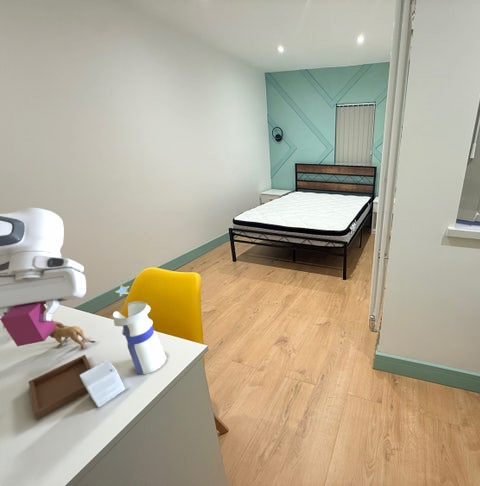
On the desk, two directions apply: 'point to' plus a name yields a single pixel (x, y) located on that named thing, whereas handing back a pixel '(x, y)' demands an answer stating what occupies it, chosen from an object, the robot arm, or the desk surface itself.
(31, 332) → the top block
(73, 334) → the lion figurine
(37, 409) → the tray
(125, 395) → the desk surface
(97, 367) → the product box
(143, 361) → the white milk jug
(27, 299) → the robot arm
